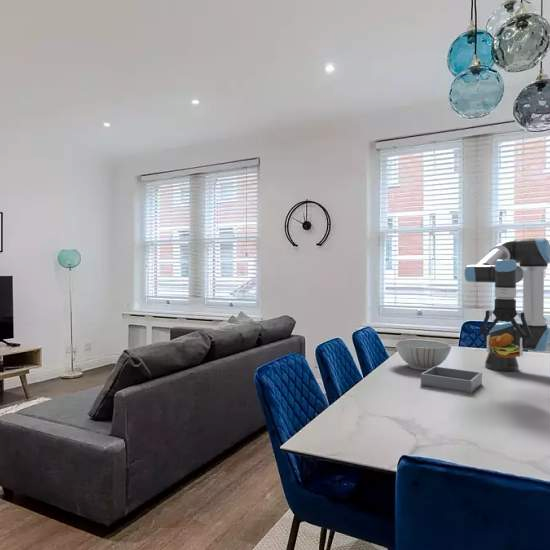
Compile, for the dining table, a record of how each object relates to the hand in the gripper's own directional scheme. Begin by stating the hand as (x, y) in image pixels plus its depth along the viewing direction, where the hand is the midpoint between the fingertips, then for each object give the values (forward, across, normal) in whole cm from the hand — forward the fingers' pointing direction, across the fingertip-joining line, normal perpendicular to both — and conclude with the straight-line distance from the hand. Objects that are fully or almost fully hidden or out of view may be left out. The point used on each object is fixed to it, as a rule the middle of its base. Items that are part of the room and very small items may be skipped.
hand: (504, 353), depth 177 cm
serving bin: (+16, -20, 0) cm, 26 cm away
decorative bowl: (+16, -41, +27) cm, 52 cm away
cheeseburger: (+1, 0, 0) cm, 1 cm away
